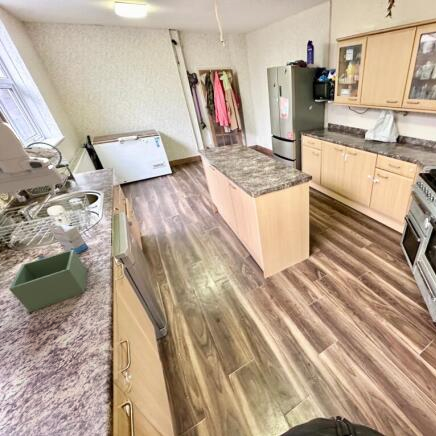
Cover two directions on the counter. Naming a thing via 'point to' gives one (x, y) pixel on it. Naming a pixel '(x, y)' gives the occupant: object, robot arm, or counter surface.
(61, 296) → the waste bin
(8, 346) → the counter surface
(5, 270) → the counter surface
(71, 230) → the ink box
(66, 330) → the counter surface
